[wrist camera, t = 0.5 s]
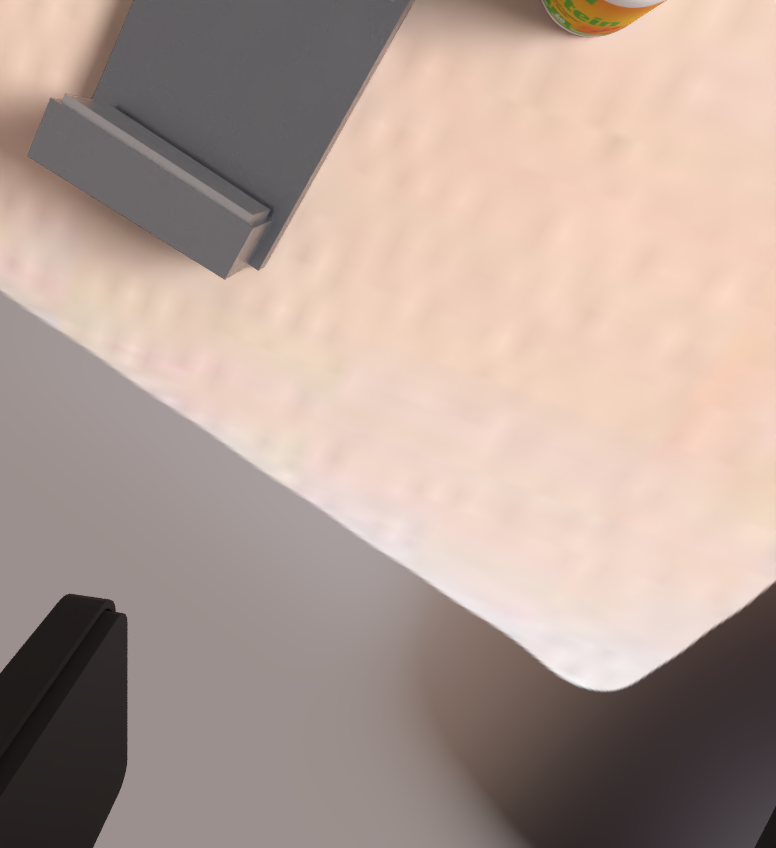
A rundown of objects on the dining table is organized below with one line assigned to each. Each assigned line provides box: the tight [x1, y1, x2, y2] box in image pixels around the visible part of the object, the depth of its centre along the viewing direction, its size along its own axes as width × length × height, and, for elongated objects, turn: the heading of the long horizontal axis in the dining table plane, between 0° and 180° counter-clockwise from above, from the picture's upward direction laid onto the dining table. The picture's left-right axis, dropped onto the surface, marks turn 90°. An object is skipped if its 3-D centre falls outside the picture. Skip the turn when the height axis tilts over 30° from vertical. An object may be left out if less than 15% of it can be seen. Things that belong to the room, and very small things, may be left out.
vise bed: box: [28, 0, 414, 279], centre depth 27 cm, size 18×10×6 cm, turn 147°
